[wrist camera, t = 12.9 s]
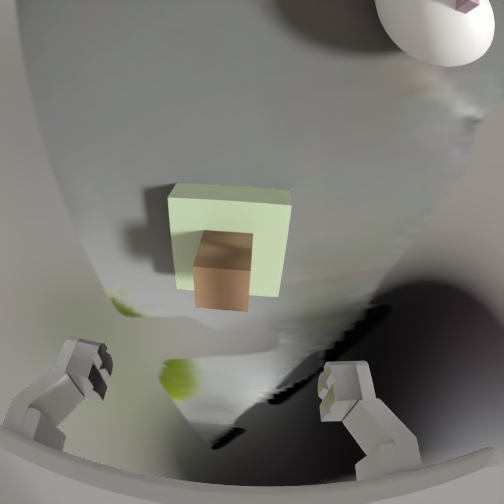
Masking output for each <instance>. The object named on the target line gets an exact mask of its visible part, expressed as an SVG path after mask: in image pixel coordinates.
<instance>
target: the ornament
mask: <svg viewBox="0 0 504 504" xmlns="http://www.w3.org/2000/svg"><path fill="white" fill-rule="evenodd" d="M375 4H376V9H377V13H378V16H379V19H380V21H381V23H382V25H383V27H384V29H385V31H386V32H387V34H388V35H389V37H390V38H391V39H392V40H393V42H394V43H395V44H396V45H397V46H398V47H399V48H400V49H402V50H403V51H404V52H405V53H407V54H408V55H410V56H411V57H413V58H415V59H417V60H419V61H422V62H424V63H428V64H431V65H436V66H460V65H464V64H468V63H470V62H473V61H475V60H476V59H478V58H479V57H481V56H482V55H483V54H484V53H485V52H486V51H487V49H488V48H489V46H490V44H491V42H492V39H493V35H494V16H493V11H492V8H491V5H490V3H489V0H375Z"/></svg>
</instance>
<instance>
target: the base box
mask: <svg viewBox="0 0 504 504" xmlns="http://www.w3.org/2000/svg"><path fill="white" fill-rule="evenodd" d="M291 207H292V204H291V197H290V190H282V189H270V188H257V187H243V186H228V185H211V184H190V183H176V185H175V186H174V188H173V190H172V191H171V193H170V194H169V196H168V209H169V221H170V231H171V242H172V251H173V260H174V269H175V277H176V285H177V289H183V290H194V280H193V263H194V260H195V257H196V254H197V250H198V247H199V244H200V241H201V238H202V235H203V232H204V230H212V231H227V232H241V233H253V246H252V259H251V273H250V287H249V295H256V296H270V297H278V294H279V288H280V282H281V275H282V269H283V262H284V256H285V249H286V242H287V235H288V229H289V222H290V214H291Z"/></svg>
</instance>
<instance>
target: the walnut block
mask: <svg viewBox="0 0 504 504" xmlns="http://www.w3.org/2000/svg"><path fill="white" fill-rule="evenodd" d="M252 246H253V233H241V232H227V231H212V230H204V232H203V235H202V238H201V241H200V244H199V247H198V250H197V254H196V257H195V260H194V263H193V280H194V293H195V304H196V307H198V308H209V309H220V310H232V311H245V312H248V300H249V287H250V273H251V259H252Z"/></svg>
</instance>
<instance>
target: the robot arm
mask: <svg viewBox="0 0 504 504" xmlns="http://www.w3.org/2000/svg"><path fill="white" fill-rule="evenodd" d="M106 350H107V347H106V345H105V343H101V342H96V341H91V340H85V339H81V338H77V337H71V336H69V337H68V339H67V340H66V341H65V344H64V346H63V348H62V350H61V353H60V355H59V358H58V359H57V362H56V364H55V366H54V369H53V370H52V369H50V370H49V371H47V372H46V373H45V374H43V375H42V376H41V377H39V378H38V379H37V380H35V381H34V382H33V383H32V384H30V385H29V386H28V387H26V388H25V389H24V390H23V391H21V392H20V393H19V394H18V395H16V396H15V397H14V398H13V399H12V401H11V403H10V406H9V409H8V411H7V414H6V416H5V419H4V422H3V425H2V426H1V425H0V504H504V456H503V455H502V454H501V453H500V452H498V451H497V450H496V449H495V448H493V447H486V448H482V449H480V450H477V451H474V452H471V453H469V454H466V455H463V456H460V457H457V458H454V459H451V460H447V461H444V462H441V463H437V464H434V465H430V466H427V467H423V468H422V463H421V458H420V453H419V448H418V444H417V439H416V437H415V436H414V435H413V434H412V433H411V432H410V431H409V429H408V428H407V427H406V426H405V425H404V424H403V423H402V422H401V421H400V420H399V419H398V418H397V417H396V416H395V415H394V414H393V413H392V412H391V411H390V409H389V408H387V406H386V405H385V404H384V403H383V402H382V401H381V400H380V399H376V397H375V392H374V388H373V384H372V379H371V375H370V370H369V366H368V363H367V362H366V361H345V362H344V361H343V362H327V363H326V364H325V366H324V372H322V373H321V374H320V377H319V381H318V395H319V397H320V398H321V399H322V400H323V401H322V403H321V405H320V414H321V421H342V422H343V424H344V425H345V426H346V428H347V429H348V430H349V432H350V433H351V434H352V436H353V437H354V439H355V440H356V441H357V443H358V444H359V445H360V447H361V448H362V449H363V451H364V452H365V453H366V455H367V456H366V457H365V458H363V459H362V460H360V461H359V462H358V463H357V464H356V465H355V466H356V477H357V481H351V482H343V483H334V484H324V485H309V486H287V487H252V486H230V485H216V484H206V483H196V482H188V481H181V480H174V479H168V478H162V477H156V476H150V475H146V474H141V473H136V472H132V471H127V470H123V469H119V468H115V467H111V466H107V465H104V464H100V463H97V462H93V461H90V460H86V459H84V458H80V457H77V456H74V455H71V454H68V453H66V452H63V447H64V443H65V439H66V436H65V434H64V433H63V432H62V431H61V430H59V429H58V428H57V426H58V425H59V424H60V423H61V422H62V421H63V420H64V419H65V418H66V417H67V416H68V415H69V414H70V412H72V411H73V409H75V408H76V407H77V406H78V405H79V403H80V402H81V401H82V400H83V399H84V397H87V398H91V399H96V400H100V401H103V400H104V396H105V393H106V390H107V385H106V382H105V381H106V380H108V379H109V378H110V377H111V373H112V368H113V362H112V358H111V355H110V354H108V353H107V352H106Z"/></svg>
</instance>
